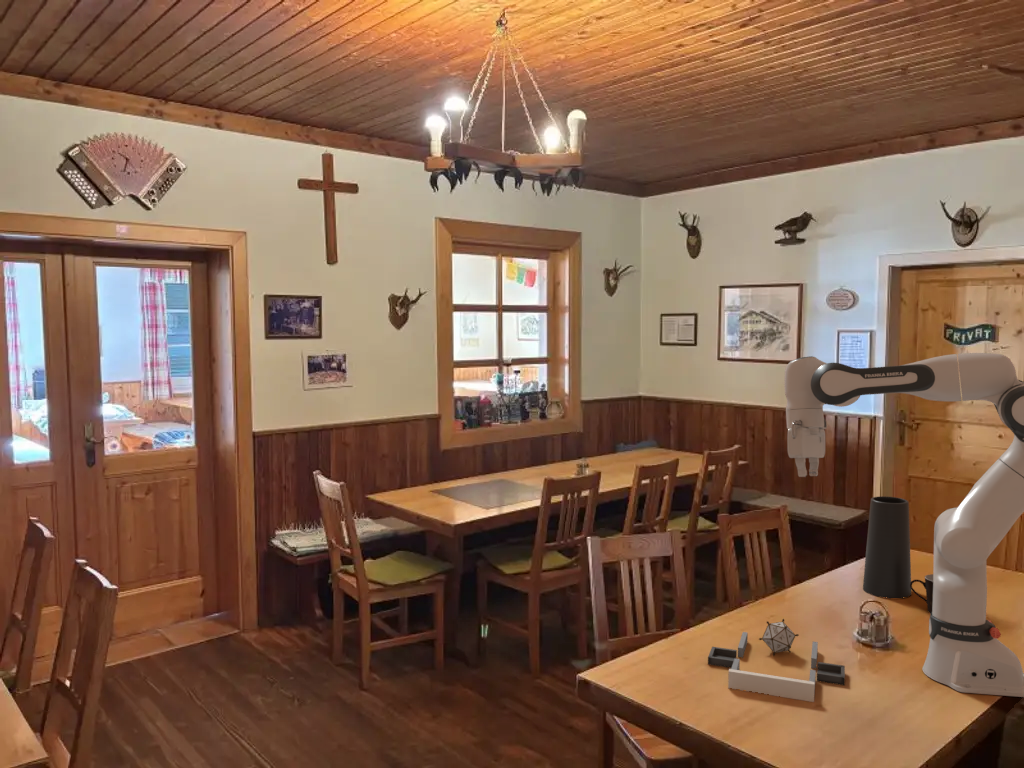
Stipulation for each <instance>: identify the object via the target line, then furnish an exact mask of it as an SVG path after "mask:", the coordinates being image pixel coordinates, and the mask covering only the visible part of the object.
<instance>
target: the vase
mask: <svg viewBox="0 0 1024 768" xmlns="http://www.w3.org/2000/svg"><path fill="white" fill-rule="evenodd" d="M909 505H910V504H909V501H908V499H907V500H906V499H905V498H903V497H902V498H901V497H895V496H887V495H886V496H882V495H881V496H873V497H871V498H870V504H869V513H868V514H869V515H868V525H867V527H868V528H867V538H866V548H865V550H866V551H865V559H864V560H865V561H864V569H863V570H864V571H863V582H862V590H863V591H864V592H865V593H867V594H869V595H871V596H875V597H878V598H883V597H885V598H884V599H891V598H902V599H904V598H903V597H908V596H910V595H911V596H912V589H911V588H910V583H911V581H912V574H911V573H912V569H911V563H912V562H911V538H910V537H911V535H910V532H911V531H910V506H909ZM911 596H910V597H911ZM886 597H887V598H886ZM908 598H909V597H908Z"/></svg>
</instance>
